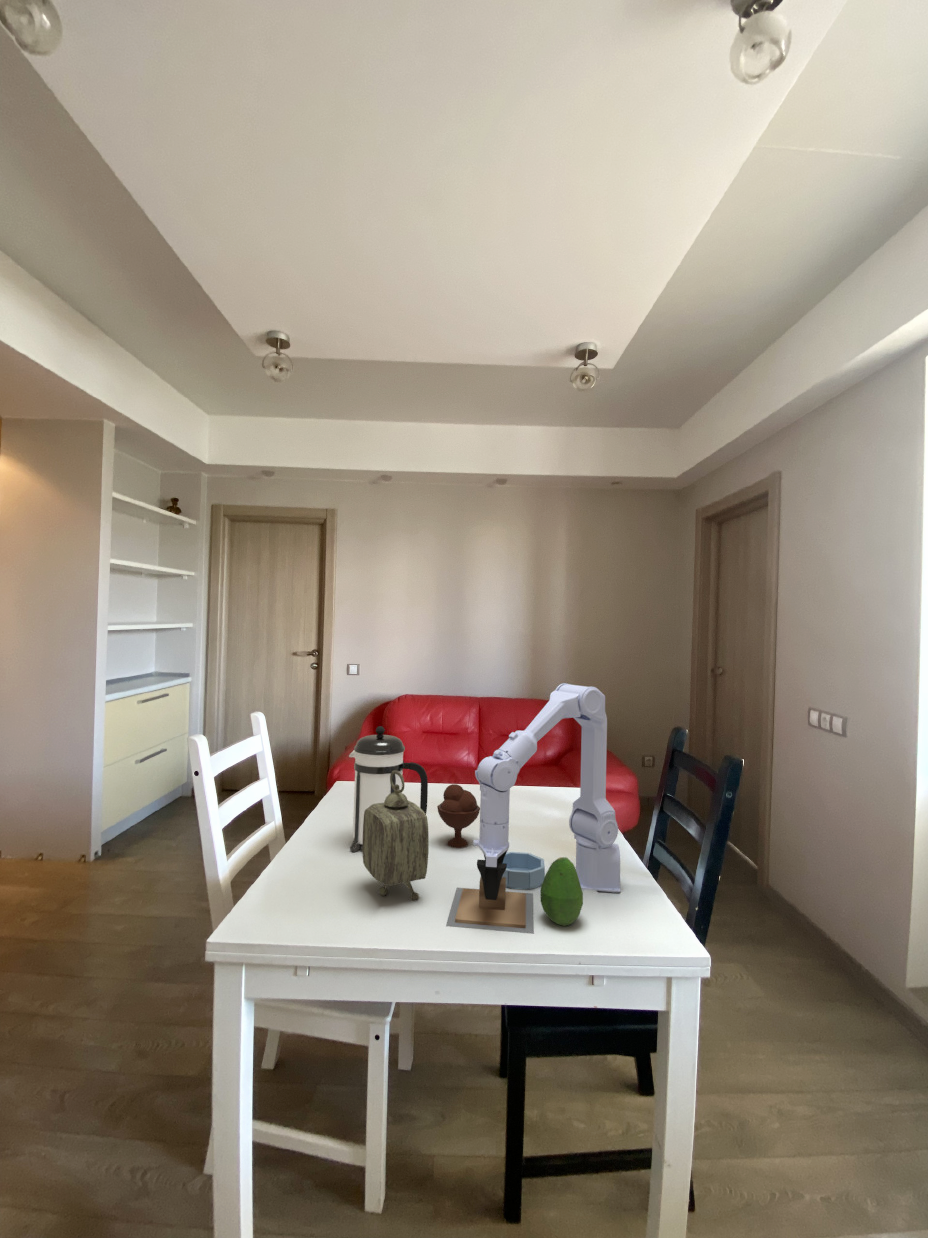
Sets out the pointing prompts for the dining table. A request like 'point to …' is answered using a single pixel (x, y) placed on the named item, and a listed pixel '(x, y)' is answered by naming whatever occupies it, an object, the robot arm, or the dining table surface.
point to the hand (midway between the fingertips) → (492, 890)
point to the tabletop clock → (396, 840)
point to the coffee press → (379, 776)
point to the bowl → (523, 870)
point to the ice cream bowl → (458, 812)
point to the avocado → (561, 892)
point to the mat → (452, 923)
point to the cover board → (492, 915)
